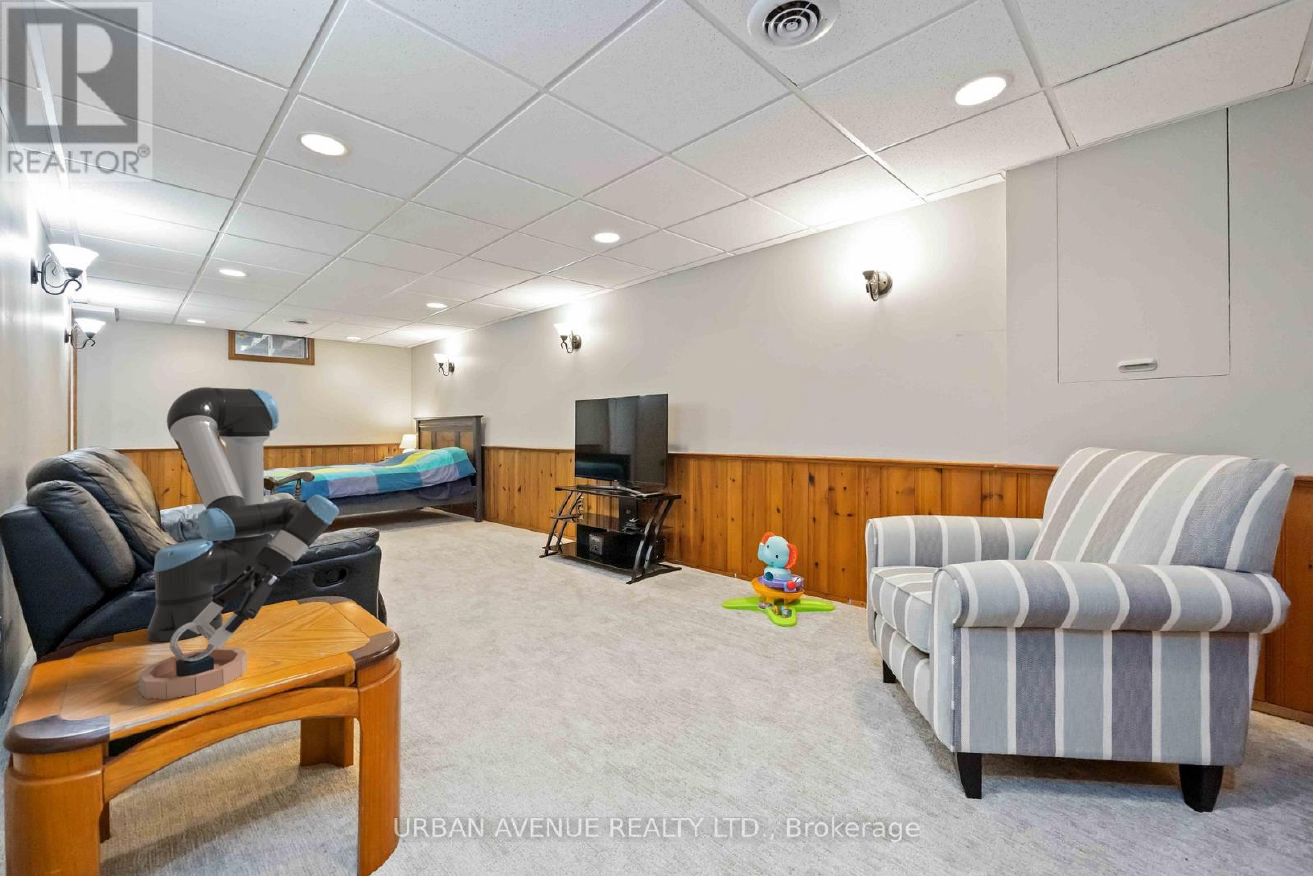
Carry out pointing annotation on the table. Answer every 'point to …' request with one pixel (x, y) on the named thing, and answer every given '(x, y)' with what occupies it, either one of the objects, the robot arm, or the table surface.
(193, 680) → the dish
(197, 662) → the watch
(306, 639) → the table surface
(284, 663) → the table surface
